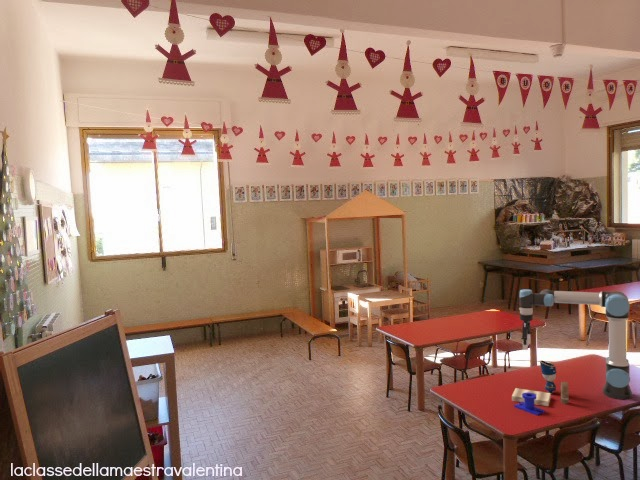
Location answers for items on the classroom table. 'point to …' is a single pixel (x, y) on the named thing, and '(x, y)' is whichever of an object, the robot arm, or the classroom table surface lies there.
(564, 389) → the peg
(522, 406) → the mount
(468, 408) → the classroom table surface
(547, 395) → the board
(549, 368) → the blue tall vessel
